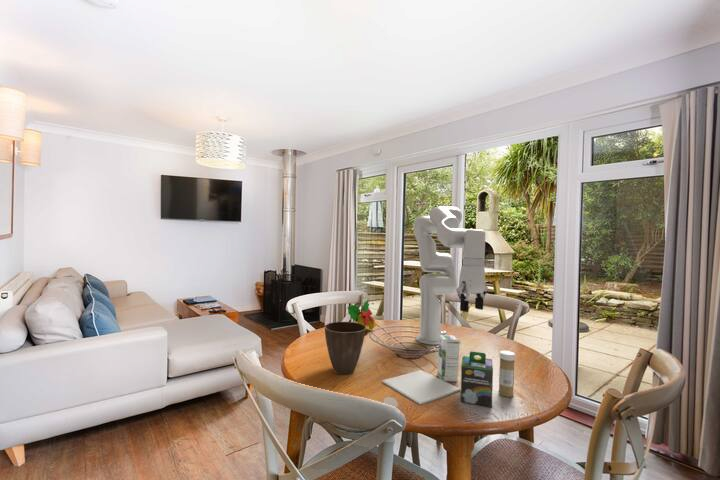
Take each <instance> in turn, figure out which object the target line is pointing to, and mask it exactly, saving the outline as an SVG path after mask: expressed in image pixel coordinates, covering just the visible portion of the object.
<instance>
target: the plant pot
mask: <svg viewBox="0 0 720 480" xmlns="http://www.w3.org/2000/svg"><path fill="white" fill-rule="evenodd" d="M365 329H366V327H365V326H364V325H362V324H359V323H357V322H356V323H355V321H354V322H353V321H335V322H330V323H326V324H325V325H324V335H325V343H326V347H327V351H328V352H327V353H328V356H329V360H330V364H331V367H332V369H333V372H334V373H336V374H339V375H350V374H353V373H354V372H355V370H356V367H357V365H358V362H359V360H360V357H361V353H362V349H363V345H364V340H365V336H366V331H365Z"/></svg>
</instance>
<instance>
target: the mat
mask: <svg viewBox="0 0 720 480" xmlns="http://www.w3.org/2000/svg"><path fill="white" fill-rule="evenodd" d="M381 381H382V383H383V384H385V385H387V386H388V387H390V388H391V389H393V390H395V391H396V392H398V393H400V394H401V395H403V396H404V397H407V398H408V399H410V400H411V401H412V402H413V401H414V403H416V404H418V405H420V406H421V405H423V404H426V403H429V402H432V401H435V400H438V399H441V398H444V397H446V396H450V395H452V394H456V393H458V392H461V388H460V387H457V386H456V385H453V384H451V383H449V382H448V381H443V380H441V379H440V378H439V377H437V376H434V375H432V374H430V373H428V372H427V371H424V370H422V369H419V370H416V371H411V372H409V373H405V374H402V375H398V376H395V377H394V376H392V377H390V378H386V379H384V380H383V379H382V380H381Z"/></svg>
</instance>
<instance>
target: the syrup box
mask: <svg viewBox="0 0 720 480" xmlns="http://www.w3.org/2000/svg"><path fill="white" fill-rule="evenodd" d="M460 342H461V341H460V340H459V338H457V337H456V336H455V335H451V334H450V335H448V334H446V335H440V336H439V344H438V352H437V353H438V354H437V355H438V356H437V357H438V358H437V376H438V378H439V379H441V380H443V381H445V382H458V377H459V360H460V359H459V358H460Z"/></svg>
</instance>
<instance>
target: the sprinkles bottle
mask: <svg viewBox="0 0 720 480" xmlns="http://www.w3.org/2000/svg"><path fill="white" fill-rule="evenodd" d="M515 360H516V353H515V352H513V351H510V350H501V351H499V374H498V375H499V376H498V391H497V392H498V393H499V395H500V396H503V397H508V398H509V397H511V398H512V397H513V396H514V395H515V394H514V385H515Z"/></svg>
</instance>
